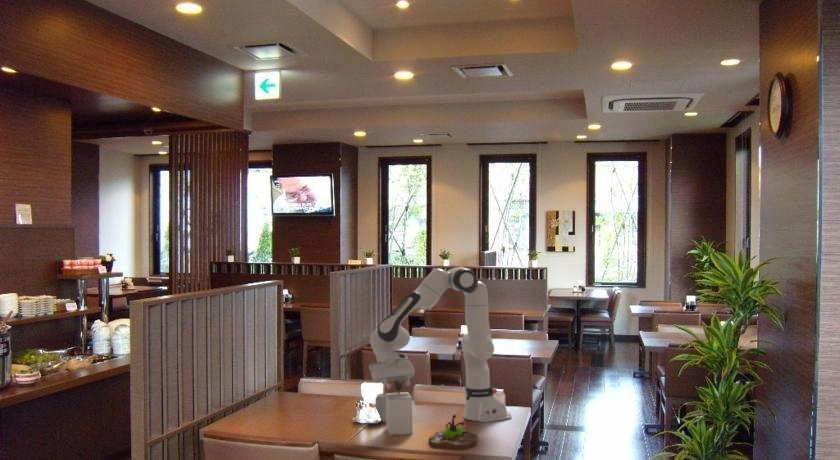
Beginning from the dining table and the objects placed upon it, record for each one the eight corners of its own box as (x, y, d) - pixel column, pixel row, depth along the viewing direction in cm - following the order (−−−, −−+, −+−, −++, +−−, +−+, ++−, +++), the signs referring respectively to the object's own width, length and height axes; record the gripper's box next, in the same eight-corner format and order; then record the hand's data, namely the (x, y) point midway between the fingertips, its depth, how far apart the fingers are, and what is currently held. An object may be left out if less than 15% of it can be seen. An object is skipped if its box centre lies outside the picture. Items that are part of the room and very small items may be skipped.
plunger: (406, 426, 305) (405, 379, 305) (409, 431, 297) (409, 383, 297) (388, 428, 303) (388, 380, 303) (391, 433, 295) (390, 384, 295)
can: (389, 422, 314) (389, 396, 315) (374, 422, 316) (373, 396, 316) (393, 418, 322) (393, 393, 322) (378, 417, 323) (377, 392, 323)
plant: (483, 437, 290) (482, 411, 290) (470, 451, 272) (470, 423, 272) (438, 434, 297) (438, 408, 297) (423, 447, 279) (423, 419, 279)
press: (408, 427, 306) (407, 392, 306) (412, 434, 296) (412, 397, 296) (386, 429, 304) (385, 393, 304) (389, 435, 294) (389, 398, 294)
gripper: (369, 359, 301) (380, 385, 292) (409, 354, 311) (421, 379, 303) (365, 368, 305) (375, 394, 296) (405, 362, 315) (416, 387, 307)
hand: (399, 386), depth 300 cm, fingers open, 8 cm apart
